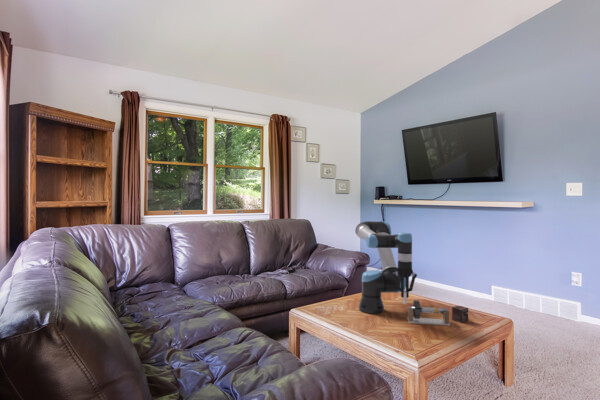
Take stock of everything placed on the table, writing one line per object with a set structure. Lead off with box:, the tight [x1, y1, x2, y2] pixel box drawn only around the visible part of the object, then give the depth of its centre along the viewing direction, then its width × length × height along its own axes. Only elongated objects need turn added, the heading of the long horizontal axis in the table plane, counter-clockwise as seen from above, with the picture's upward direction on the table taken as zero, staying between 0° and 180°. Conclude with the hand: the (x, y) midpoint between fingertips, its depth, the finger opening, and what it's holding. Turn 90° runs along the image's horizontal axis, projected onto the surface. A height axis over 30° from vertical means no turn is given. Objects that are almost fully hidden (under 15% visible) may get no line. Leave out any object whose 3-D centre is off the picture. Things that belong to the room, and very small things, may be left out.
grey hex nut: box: [412, 299, 422, 319], centre depth 183 cm, size 2×9×9 cm, turn 169°
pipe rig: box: [406, 305, 451, 327], centre depth 182 cm, size 21×7×8 cm, turn 79°
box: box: [451, 305, 469, 324], centre depth 184 cm, size 6×6×7 cm
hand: (404, 303), depth 184 cm, fingers closed
